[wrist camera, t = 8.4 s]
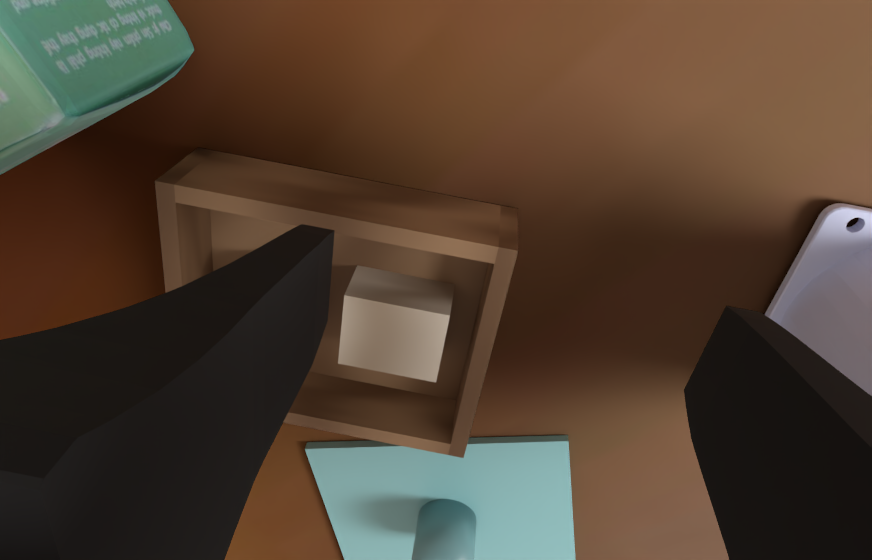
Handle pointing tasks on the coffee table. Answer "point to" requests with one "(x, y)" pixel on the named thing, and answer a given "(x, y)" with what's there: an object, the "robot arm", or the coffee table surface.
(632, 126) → the coffee table surface
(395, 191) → the crate
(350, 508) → the lid
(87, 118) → the box
